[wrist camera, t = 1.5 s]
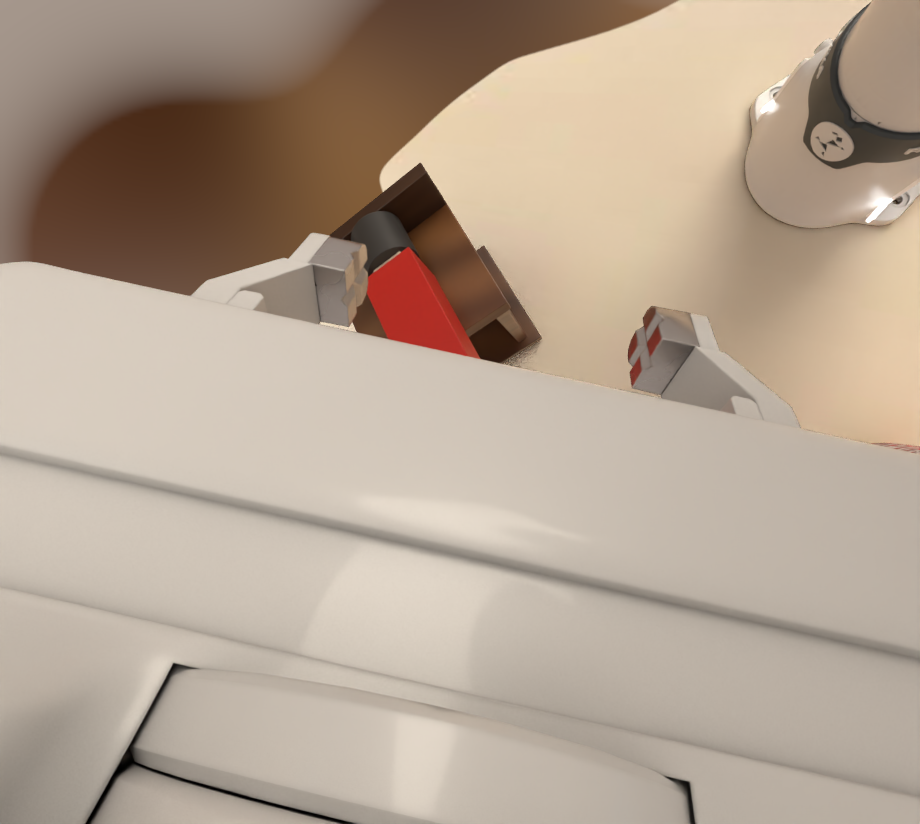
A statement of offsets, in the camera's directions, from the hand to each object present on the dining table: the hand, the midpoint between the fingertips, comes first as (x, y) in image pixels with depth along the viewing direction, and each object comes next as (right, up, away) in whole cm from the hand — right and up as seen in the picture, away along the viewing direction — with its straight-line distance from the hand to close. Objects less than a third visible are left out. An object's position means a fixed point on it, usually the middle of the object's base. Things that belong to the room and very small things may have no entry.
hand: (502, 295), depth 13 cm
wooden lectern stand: (0, +8, +43) cm, 44 cm away
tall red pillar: (-3, +3, +24) cm, 25 cm away
